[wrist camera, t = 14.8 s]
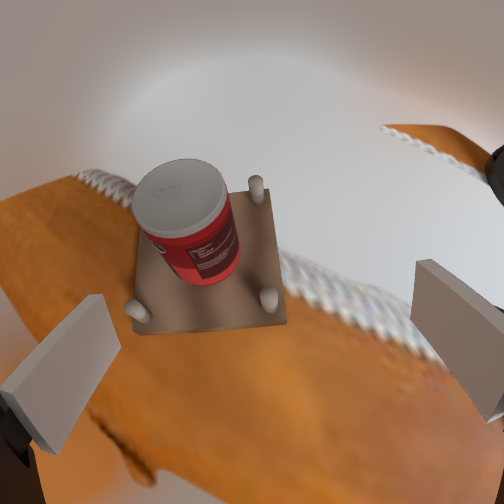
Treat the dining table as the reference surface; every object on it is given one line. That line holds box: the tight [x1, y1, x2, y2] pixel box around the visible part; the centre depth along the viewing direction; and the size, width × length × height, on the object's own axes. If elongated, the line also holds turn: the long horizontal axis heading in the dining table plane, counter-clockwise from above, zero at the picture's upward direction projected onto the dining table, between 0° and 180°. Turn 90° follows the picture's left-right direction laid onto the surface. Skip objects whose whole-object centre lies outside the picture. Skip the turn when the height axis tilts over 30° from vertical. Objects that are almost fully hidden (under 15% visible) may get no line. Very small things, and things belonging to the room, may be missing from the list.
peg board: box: [124, 175, 287, 335], centre depth 32 cm, size 16×16×6 cm
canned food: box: [132, 159, 241, 286], centre depth 28 cm, size 8×8×11 cm
